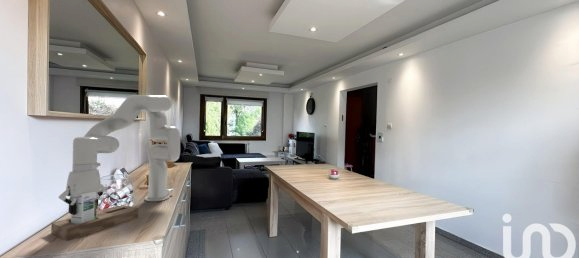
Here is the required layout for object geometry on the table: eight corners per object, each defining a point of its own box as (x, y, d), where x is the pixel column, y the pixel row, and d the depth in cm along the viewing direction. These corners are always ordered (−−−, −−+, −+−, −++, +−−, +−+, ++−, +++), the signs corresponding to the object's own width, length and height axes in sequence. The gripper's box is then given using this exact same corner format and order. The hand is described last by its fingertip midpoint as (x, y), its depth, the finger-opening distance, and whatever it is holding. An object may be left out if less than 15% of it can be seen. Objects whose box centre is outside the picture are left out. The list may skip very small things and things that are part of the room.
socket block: (51, 233, 93) (51, 223, 93) (122, 212, 116) (122, 204, 116) (67, 240, 88) (67, 229, 88) (137, 217, 111) (138, 208, 111)
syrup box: (82, 231, 94) (82, 194, 94) (70, 229, 95) (70, 193, 95) (96, 225, 100) (97, 190, 99) (85, 223, 101) (85, 189, 101)
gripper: (103, 163, 106) (102, 203, 107) (52, 169, 91) (51, 216, 91) (113, 165, 103) (112, 206, 104) (62, 172, 88) (61, 220, 88)
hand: (83, 210), depth 97 cm, fingers closed on syrup box, 6 cm apart
